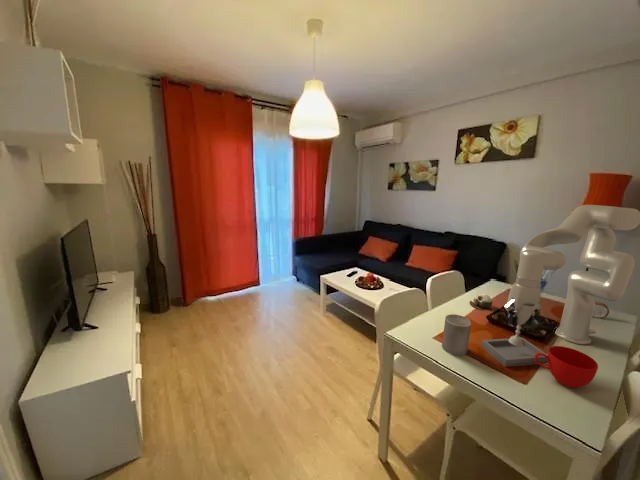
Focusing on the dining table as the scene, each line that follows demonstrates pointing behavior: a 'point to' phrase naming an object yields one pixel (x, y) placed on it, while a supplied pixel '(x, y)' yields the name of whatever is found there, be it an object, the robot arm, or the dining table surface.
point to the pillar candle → (456, 334)
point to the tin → (600, 310)
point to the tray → (513, 352)
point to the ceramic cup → (569, 366)
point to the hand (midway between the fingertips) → (519, 323)
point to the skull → (482, 302)
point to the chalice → (522, 318)
